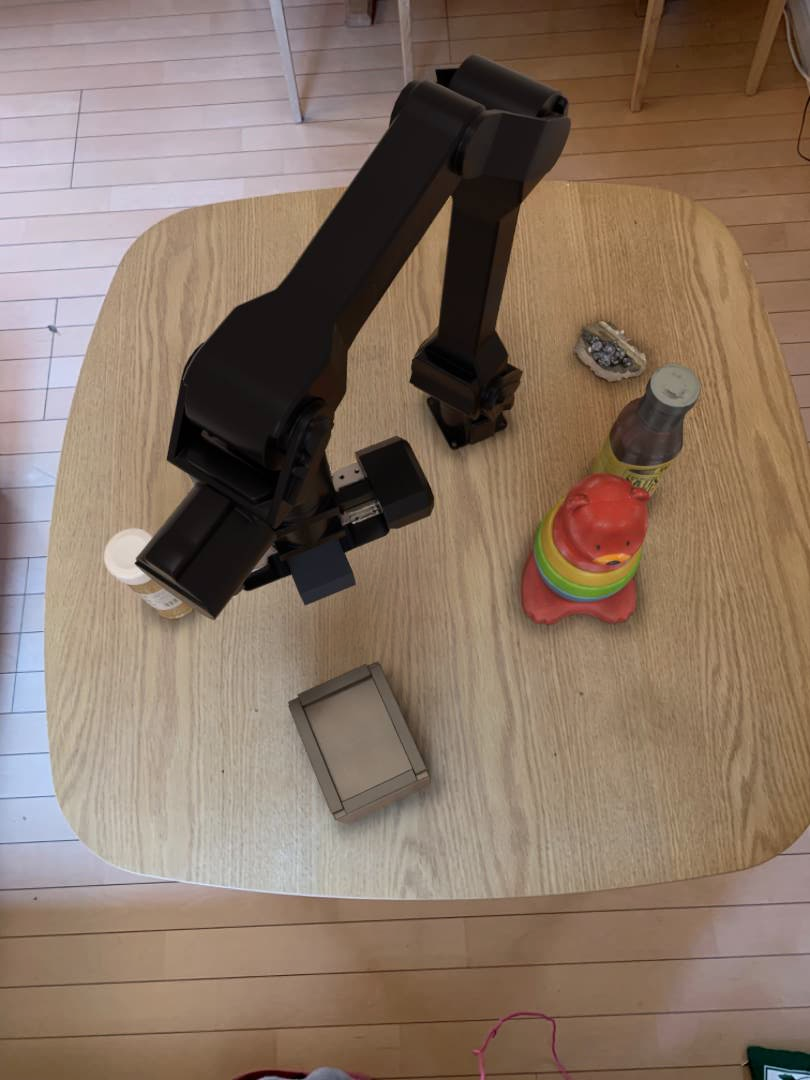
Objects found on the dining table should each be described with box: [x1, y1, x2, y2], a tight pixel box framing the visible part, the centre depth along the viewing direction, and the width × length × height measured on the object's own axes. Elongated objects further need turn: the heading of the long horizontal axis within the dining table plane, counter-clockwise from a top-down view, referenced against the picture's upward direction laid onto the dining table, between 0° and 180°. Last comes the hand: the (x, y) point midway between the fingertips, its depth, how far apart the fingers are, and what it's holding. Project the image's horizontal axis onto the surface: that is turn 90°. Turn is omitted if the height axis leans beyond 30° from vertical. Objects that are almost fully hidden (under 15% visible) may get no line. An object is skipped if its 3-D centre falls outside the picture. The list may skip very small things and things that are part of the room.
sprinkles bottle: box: [103, 527, 194, 620], centre depth 76 cm, size 5×5×13 cm
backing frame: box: [287, 661, 431, 825], centre depth 71 cm, size 10×8×11 cm
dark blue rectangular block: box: [286, 539, 357, 606], centre depth 69 cm, size 6×4×3 cm
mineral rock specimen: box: [571, 320, 648, 383], centre depth 89 cm, size 7×8×2 cm
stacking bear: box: [520, 473, 651, 626], centre depth 73 cm, size 11×10×18 cm
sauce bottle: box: [588, 363, 702, 498], centre depth 75 cm, size 7×6×20 cm
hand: (315, 558), depth 69 cm, fingers closed on dark blue rectangular block, 4 cm apart
